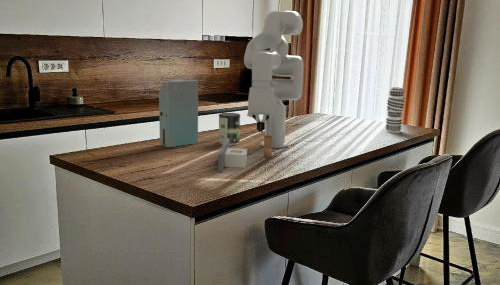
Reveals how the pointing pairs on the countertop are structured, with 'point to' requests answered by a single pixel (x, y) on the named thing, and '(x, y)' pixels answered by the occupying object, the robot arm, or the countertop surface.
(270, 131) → the robot arm
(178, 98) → the device
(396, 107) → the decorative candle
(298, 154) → the countertop surface
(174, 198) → the countertop surface
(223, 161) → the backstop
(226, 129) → the coffee can
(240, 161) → the socket block
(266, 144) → the dowel
